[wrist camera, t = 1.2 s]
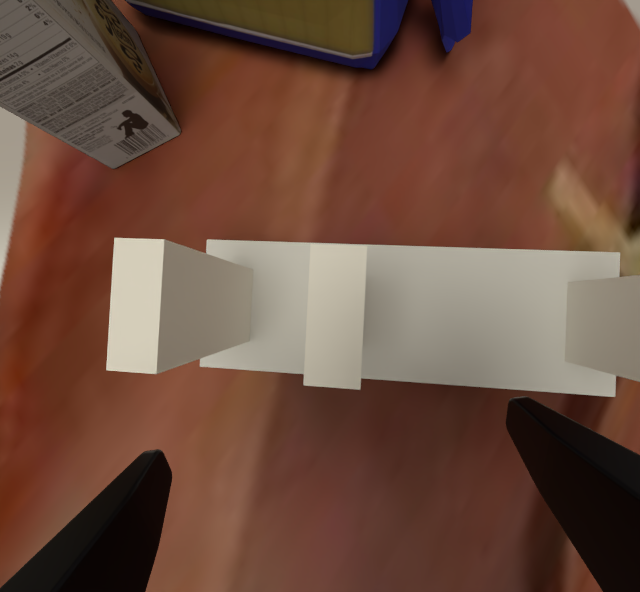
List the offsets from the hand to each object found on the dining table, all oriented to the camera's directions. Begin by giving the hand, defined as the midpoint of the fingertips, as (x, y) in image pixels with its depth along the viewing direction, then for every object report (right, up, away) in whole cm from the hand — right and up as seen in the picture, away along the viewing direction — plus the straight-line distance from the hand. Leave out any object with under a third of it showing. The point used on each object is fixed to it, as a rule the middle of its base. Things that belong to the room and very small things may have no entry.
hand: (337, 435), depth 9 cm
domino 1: (-6, +3, +15) cm, 16 cm away
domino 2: (+1, +3, +14) cm, 14 cm away
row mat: (+5, +2, +14) cm, 15 cm away
